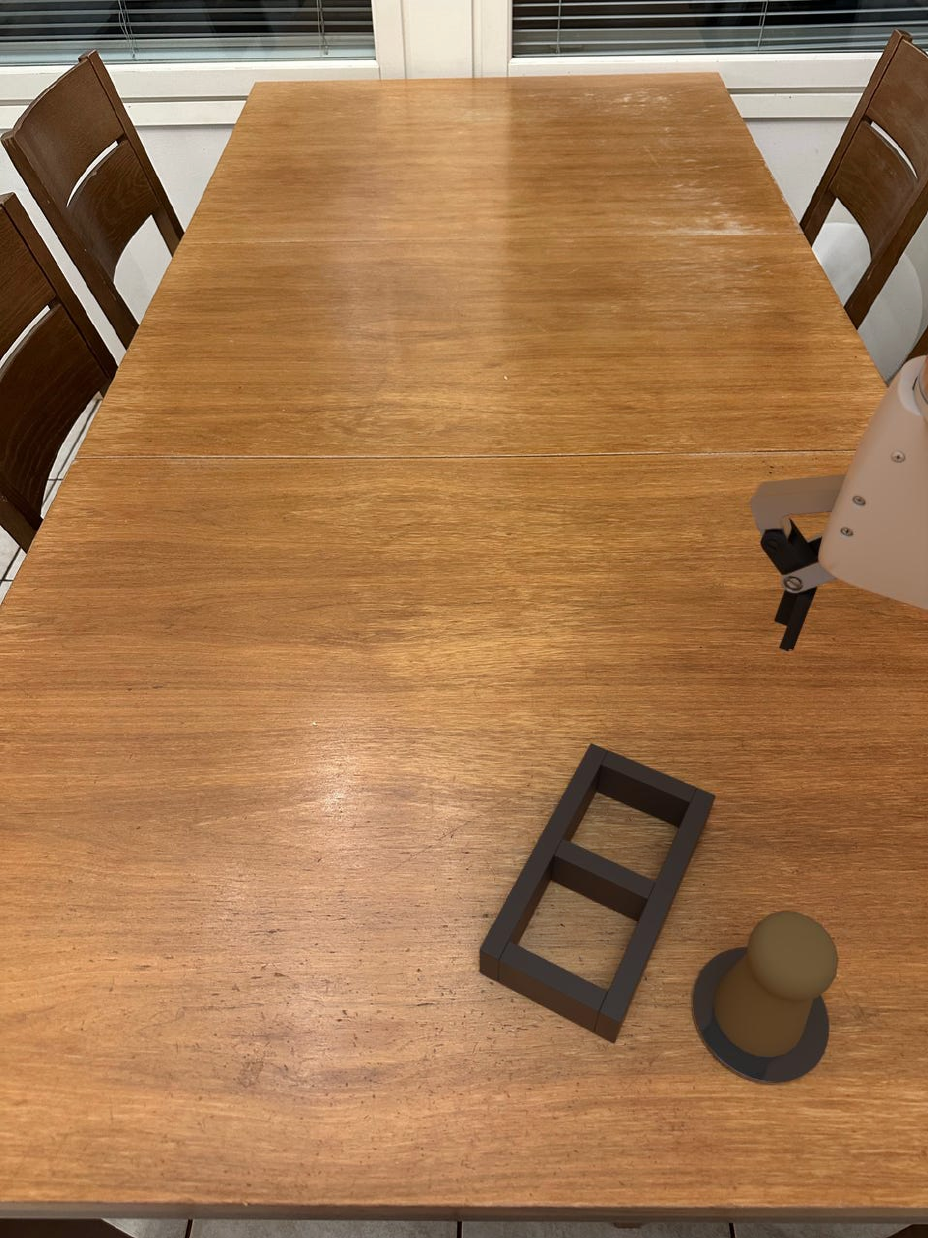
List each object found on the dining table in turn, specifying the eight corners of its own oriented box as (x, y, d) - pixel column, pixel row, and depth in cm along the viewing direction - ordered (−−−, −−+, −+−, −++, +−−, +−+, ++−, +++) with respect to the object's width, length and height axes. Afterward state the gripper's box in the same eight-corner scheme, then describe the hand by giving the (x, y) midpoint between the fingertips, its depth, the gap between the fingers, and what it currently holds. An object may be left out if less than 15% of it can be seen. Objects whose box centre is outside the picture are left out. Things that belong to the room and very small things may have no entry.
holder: (706, 822, 74) (716, 795, 71) (614, 1044, 63) (620, 1023, 60) (586, 770, 77) (590, 742, 74) (479, 972, 66) (478, 949, 63)
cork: (694, 1006, 64) (725, 938, 56) (750, 949, 67) (788, 876, 58) (767, 1078, 61) (811, 1017, 53) (823, 1015, 64) (873, 948, 55)
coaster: (842, 986, 65) (844, 984, 65) (807, 1112, 60) (809, 1110, 60) (716, 928, 68) (717, 925, 68) (672, 1042, 63) (674, 1040, 63)
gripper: (1295, 385, 35) (1077, 674, 48) (824, 280, 40) (741, 564, 53) (1307, 505, 30) (1063, 788, 43) (776, 369, 36) (699, 656, 49)
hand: (886, 664), depth 48 cm, fingers open, 9 cm apart
